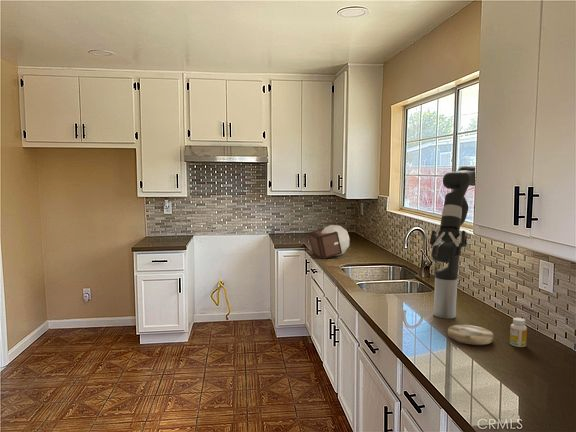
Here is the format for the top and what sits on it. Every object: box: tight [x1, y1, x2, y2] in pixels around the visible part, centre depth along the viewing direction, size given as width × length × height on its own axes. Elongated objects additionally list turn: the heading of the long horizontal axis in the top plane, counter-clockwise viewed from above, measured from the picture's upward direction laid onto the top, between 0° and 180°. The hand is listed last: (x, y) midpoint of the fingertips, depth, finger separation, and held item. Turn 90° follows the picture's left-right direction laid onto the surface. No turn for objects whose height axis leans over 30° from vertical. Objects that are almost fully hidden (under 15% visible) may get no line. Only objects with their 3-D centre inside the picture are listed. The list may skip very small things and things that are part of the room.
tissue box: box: [307, 224, 350, 260], centre depth 330 cm, size 24×28×24 cm
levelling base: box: [447, 324, 494, 346], centre depth 167 cm, size 16×16×4 cm
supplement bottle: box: [509, 317, 528, 348], centre depth 162 cm, size 5×5×10 cm
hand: (445, 256), depth 173 cm, fingers open, 8 cm apart
